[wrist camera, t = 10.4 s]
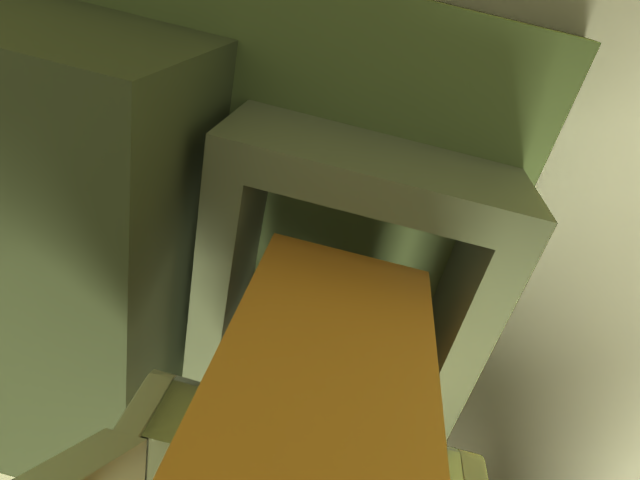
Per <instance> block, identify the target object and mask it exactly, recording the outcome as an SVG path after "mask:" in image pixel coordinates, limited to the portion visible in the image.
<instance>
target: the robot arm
mask: <svg viewBox="0 0 640 480" xmlns="http://www.w3.org/2000/svg"><path fill="white" fill-rule="evenodd" d="M199 384H200V382H199V381H195V380H192V379H188V378H185V377H182V376H178V375H174V374H170V373H167V372H163V371H159V370H156V369H153V370H152V371H151V372H150V373H149V374H148V375H147V377H146V378H145V380H144V381H143V383H142V384H141V386H140V387H139V389H138V391H137V392H136V394H135V395H134V397H133V398H132V400H131V402H130V403H129V405H128V406H127V408H126V409H125V411H124V412H123V414H122V416H121V417H120V419H119V420H118V422H117V423H116V425H115V427H114V428H113V430H112V429H108V428H105V429H103V430H101V431H99V432H97V433H95V434H94V435H92V436H90V437H88V438H86V439H85V440H83V441H81V442H79V443H77V444H76V445H74V446H72V447H70V448H68V449H66V450H65V451H63V452H61V453H59V454H57V455H56V456H54V457H52V458H50V459H48V460H46V461H45V462H43V463H41V464H39V465H37V466H36V467H34V468H32V469H30V470H28V471H27V472H25V473H23V474H21V475H19V476H17V477H16V478H14V479H12V480H153V478H154V476H155V474H156V472H157V470H158V468H159V466H160V464H161V462H162V460H163V458H164V456H165V454H166V451H167V449H168V447H169V445H170V443H171V441H172V439H173V437H174V435H175V433H176V431H177V429H178V427H179V425H180V423H181V421H182V419H183V417H184V415H185V413H186V411H187V409H188V407H189V405H190V403H191V401H192V399H193V397H194V395H195V393H196V391H197V388H198V386H199ZM447 453H448V463H449V473H450V480H488V474H487V469H486V463H485V459H484V458H483V456H482V455H479V454H476V453H472V452H468V451H464V450H460V449H456V448H453V447H449V446H447Z"/></svg>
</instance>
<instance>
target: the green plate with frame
mask: <svg viewBox="0 0 640 480" xmlns="http://www.w3.org/2000/svg"><path fill="white" fill-rule="evenodd" d="M600 45H601V43H600V42H597V41H594V40H591V39H588V38H585V37H581V36H577V35H573V34H569V33H565V32H561V31H556V30H552V29H548V28H544V27H540V26H536V25H532V24H528V23H524V22H519V21H515V20H511V19H507V18H503V17H499V16H495V15H491V14H487V13H483V12H478V11H474V10H470V9H466V8H462V7H458V6H454V5H450V4H446V3H442V2H437V1H433V0H0V473H2V474H6V475H9V476H13V477H17V476H19V475H21V474H23V473H25V472H27V471H28V470H30V469H32V468H34V467H36V466H37V465H39V464H41V463H43V462H45V461H46V460H48V459H50V458H52V457H54V456H56V455H57V454H59V453H61V452H63V451H65V450H66V449H68V448H70V447H72V446H74V445H76V444H77V443H79V442H81V441H83V440H85V439H86V438H88V437H90V436H92V435H94V434H95V433H97V432H99V431H101V430H103V429H105V428H108V429H112V430H113V428H114V427H115V425H116V423H117V422H118V420H119V419H120V417H121V416H122V414H123V412H124V411H125V409H126V408H127V406H128V405H129V403H130V402H131V400H132V398H133V397H134V395H135V394H136V392H137V391H138V389H139V387H140V386H141V384H142V383H143V381H144V380H145V378H146V377H147V375H148V374H149V373H150V372H151V371H152V370H153V369H156V370H159V371H163V372H167V373H170V374H174V375H178V376H182V377H185V378H188V379H192V380H195V381H199V382H201V380H202V378H203V376H204V374H205V372H206V370H207V368H208V366H209V364H210V362H211V360H212V358H213V356H214V354H215V352H216V350H217V348H218V346H219V344H220V342H221V340H222V338H223V336H224V334H225V332H226V330H227V328H228V325H229V323H230V321H231V319H232V317H233V315H234V313H235V311H236V309H237V307H238V305H239V303H240V301H241V299H242V297H243V295H244V293H245V291H246V289H247V287H248V285H249V283H250V281H251V279H252V277H253V275H254V273H255V271H256V269H257V267H258V265H259V262H260V260H261V258H262V256H263V254H264V252H265V250H266V248H267V246H268V244H269V242H270V240H271V238H272V236H273V234H274V233H277V234H281V235H285V236H288V237H292V238H296V239H300V240H304V241H308V242H312V243H316V244H320V245H324V246H328V247H332V248H336V249H340V250H344V251H348V252H352V253H356V254H360V255H364V256H368V257H372V258H376V259H380V260H384V261H388V262H392V263H396V264H400V265H404V266H407V267H411V268H415V269H419V270H423V271H427V272H429V278H430V287H431V297H432V307H433V317H434V326H435V336H436V346H437V356H438V365H439V375H440V385H441V395H442V404H443V414H444V424H445V434H446V441H447V439H448V437H449V435H450V433H451V431H452V429H453V427H454V425H455V423H456V421H457V419H458V417H459V415H460V413H461V412H462V410H463V408H464V406H465V404H466V402H467V400H468V398H469V396H470V394H471V392H472V390H473V388H474V386H475V384H476V382H477V380H478V378H479V376H480V374H481V372H482V370H483V368H484V366H485V365H486V363H487V361H488V359H489V357H490V355H491V353H492V351H493V349H494V347H495V345H496V343H497V341H498V339H499V337H500V335H501V333H502V331H503V329H504V327H505V325H506V323H507V321H508V320H509V318H510V316H511V314H512V312H513V310H514V308H515V306H516V304H517V302H518V300H519V298H520V296H521V294H522V292H523V290H524V288H525V286H526V284H527V282H528V280H529V278H530V276H531V274H532V273H533V271H534V269H535V267H536V265H537V263H538V261H539V259H540V257H541V255H542V253H543V251H544V249H545V247H546V245H547V243H548V241H549V239H550V237H551V235H552V233H553V231H554V229H555V227H556V226H557V224H558V223H557V221H556V220H555V218H554V217H553V215H552V214H551V212H550V210H549V209H548V207H547V206H546V204H545V202H544V201H543V199H542V198H541V196H540V194H539V193H538V191H537V190H536V188H535V185H536V182H537V180H538V178H539V176H540V174H541V172H542V170H543V167H544V165H545V163H546V161H547V159H548V157H549V154H550V152H551V150H552V148H553V146H554V144H555V142H556V139H557V137H558V135H559V133H560V131H561V129H562V126H563V124H564V122H565V120H566V118H567V116H568V114H569V111H570V109H571V107H572V105H573V103H574V101H575V99H576V96H577V94H578V92H579V90H580V88H581V86H582V83H583V81H584V79H585V77H586V75H587V73H588V71H589V68H590V66H591V64H592V62H593V60H594V58H595V55H596V53H597V51H598V49H599V47H600Z"/></svg>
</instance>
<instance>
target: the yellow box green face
mask: <svg viewBox="0 0 640 480" xmlns="http://www.w3.org/2000/svg"><path fill="white" fill-rule="evenodd" d="M153 480H450V473H449V463H448V453H447V444H446V434H445V424H444V414H443V404H442V395H441V385H440V375H439V365H438V356H437V346H436V336H435V326H434V317H433V307H432V297H431V287H430V278H429V272H427V271H423V270H419V269H415V268H411V267H407V266H404V265H400V264H396V263H392V262H388V261H384V260H380V259H376V258H372V257H368V256H364V255H360V254H356V253H352V252H348V251H344V250H340V249H336V248H332V247H328V246H324V245H320V244H316V243H312V242H308V241H304V240H300V239H296V238H292V237H288V236H285V235H281V234H277V233H274V234H273V236H272V238H271V240H270V242H269V244H268V246H267V248H266V250H265V252H264V254H263V256H262V258H261V260H260V262H259V265H258V267H257V269H256V271H255V273H254V275H253V277H252V279H251V281H250V283H249V285H248V287H247V289H246V291H245V293H244V295H243V297H242V299H241V301H240V303H239V305H238V307H237V309H236V311H235V313H234V315H233V317H232V319H231V321H230V323H229V325H228V328H227V330H226V332H225V334H224V336H223V338H222V340H221V342H220V344H219V346H218V348H217V350H216V352H215V354H214V356H213V358H212V360H211V362H210V364H209V366H208V368H207V370H206V372H205V374H204V376H203V378H202V380H201V382H200V384H199V386H198V388H197V391H196V393H195V395H194V397H193V399H192V401H191V403H190V405H189V407H188V409H187V411H186V413H185V415H184V417H183V419H182V421H181V423H180V425H179V427H178V429H177V431H176V433H175V435H174V437H173V439H172V441H171V443H170V445H169V447H168V449H167V451H166V454H165V456H164V458H163V460H162V462H161V464H160V466H159V468H158V470H157V472H156V474H155V476H154V478H153Z"/></svg>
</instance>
